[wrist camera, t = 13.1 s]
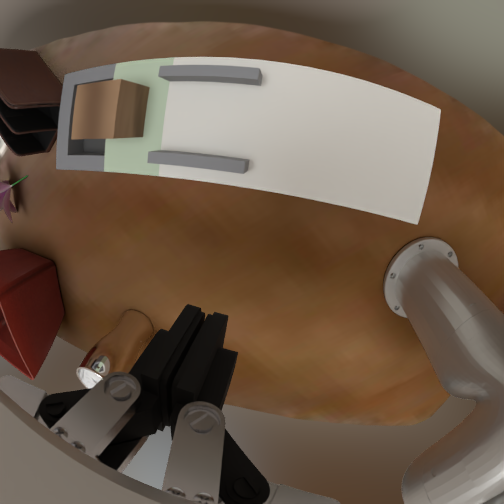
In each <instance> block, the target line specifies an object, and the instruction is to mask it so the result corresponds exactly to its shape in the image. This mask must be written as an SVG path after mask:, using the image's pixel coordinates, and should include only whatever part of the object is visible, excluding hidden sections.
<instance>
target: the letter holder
mask: <svg viewBox="0 0 504 504" xmlns="http://www.w3.org/2000/svg"><path fill="white" fill-rule="evenodd" d="M62 89H63V86H62V85H61V83H60V82H59V81H58V79H57V78H56V77H55V76H54V74H53V73H52V72H51V70H50V69H49V68H48V66H47V65H46V64H45V63H44V61H43V60H42V59H41V57H40V56H39V55H38V53H37V52H36V51H27V50H18V49H2V48H0V136H1V137H2V139H3V140H4V142H5V143H6V145H7V146H8V147H9V149H10V150H11V151H12V152H13V153H14V154H15V155H17V156H26V155H32V154H38V153H44V152H49V151H50V149H51V147H52V145H53V144H54V142H55V140H56V138H57V134H58V121H59V112H60V103H61V96H62Z"/></svg>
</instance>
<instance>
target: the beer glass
mask: <svg viewBox="0 0 504 504" xmlns="http://www.w3.org/2000/svg"><path fill="white" fill-rule="evenodd" d="M152 333H153V326H152V324H151V322H150V320H149V319H148V318H147V317H146V316H145V315H144V314H142V313H141V312H139V311H136V310H128V311H126V312H125V313H124V314H123V316H122V318H121V320H120V322H119V323H118V325H117V326H116V327H115V328H114V329H113V330H112V331H111V332H109V333H108V334H107V335H105V336H104V337H103V338H102V339H100V340H99V341H98V342H97V343H96V344H95V345H94V346H93V347H92V348H91V349H90V351H89V352H88V353H87V355H86V356H85V358H84V359H83V361H82V363H81V364H80V366H79V367H78V368H77V371H76V372H77V376H78V378H79V379H80V381H81V382H82V384H83V385H84V386H85V387H86V388H87V389H89V388H93V387H94V386H95V385H96V384H97V383H98V382H99V381H100V380H101V379H102V378H103V377H105V376H106V375H107V374H109V373H112V372H126V373H129V372H130V370H131V369H132V367H133V366H134V364H135V361H136V359H137V356H138V353H139V350H140V348H141V346H142V345H143V343H144V342H145V341H146V340H148V339H149V338H150V337H151V335H152Z"/></svg>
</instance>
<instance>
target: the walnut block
mask: <svg viewBox="0 0 504 504" xmlns="http://www.w3.org/2000/svg"><path fill="white" fill-rule="evenodd" d="M149 89H150V87H147V86H144V85H141V84H137V83H134V82H130V81H127V80H123V79H117V80H109V81H102V82H95V83H89V84H83V85H78V86H77V92H76V98H75V106H74V114H73V124H72V135H71V140H72V139H117V138H135V137H143V132H144V124H145V116H146V108H147V101H148V95H149Z"/></svg>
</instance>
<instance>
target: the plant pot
mask: <svg viewBox="0 0 504 504" xmlns="http://www.w3.org/2000/svg"><path fill="white" fill-rule="evenodd" d="M64 314H65V312H64V307H63V303H62V299H61V294H60V289H59V284H58V279H57V273H56V267H55V264H54V263H53V262H52V261H51V260H49V259H46V258H44V257H41V256H39V255H36V254H34V253H31V252H29V251H26V250H24V249H22V248H20V249H8V250H1V251H0V355H1V356H2V357H4V359H6V360H7V361H8V362H9V363H11V364H12V365H13V366H14V367H15V368H17V369H18V370H19V371H21V372H22V373H24V374H25V375H26V376H27V377H29V378H30V379H31V380H34V378H35V376H36V375H37V373H38V371H39V370H40V368H41V366H42V364H43V362H44V360H45V358H46V356H47V354H48V352H49V350H50V348H51V346H52V344H53V342H54V339H55V337H56V335H57V332H58V330H59V327H60V325H61V322H62V319H63V317H64Z"/></svg>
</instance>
